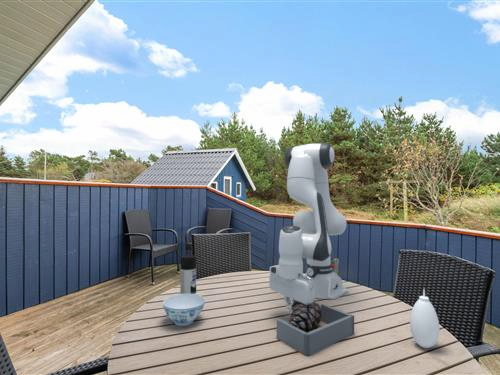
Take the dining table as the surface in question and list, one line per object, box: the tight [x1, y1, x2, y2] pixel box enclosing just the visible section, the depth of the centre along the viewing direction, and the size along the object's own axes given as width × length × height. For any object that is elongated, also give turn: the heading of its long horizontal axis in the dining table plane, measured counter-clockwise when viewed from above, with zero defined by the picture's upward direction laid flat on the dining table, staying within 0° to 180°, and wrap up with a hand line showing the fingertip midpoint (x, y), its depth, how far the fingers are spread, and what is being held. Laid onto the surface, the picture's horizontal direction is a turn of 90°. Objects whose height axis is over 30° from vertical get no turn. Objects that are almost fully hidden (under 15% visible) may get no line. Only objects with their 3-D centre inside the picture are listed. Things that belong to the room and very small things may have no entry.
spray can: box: [179, 254, 197, 294], centre depth 125 cm, size 7×7×20 cm
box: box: [276, 303, 355, 357], centre depth 97 cm, size 23×13×6 cm, turn 127°
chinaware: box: [162, 293, 206, 327], centre depth 107 cm, size 15×15×8 cm
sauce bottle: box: [409, 288, 440, 349], centre depth 91 cm, size 8×8×18 cm
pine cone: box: [288, 301, 323, 333], centre depth 99 cm, size 10×18×10 cm, turn 159°
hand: (290, 308), depth 107 cm, fingers closed
